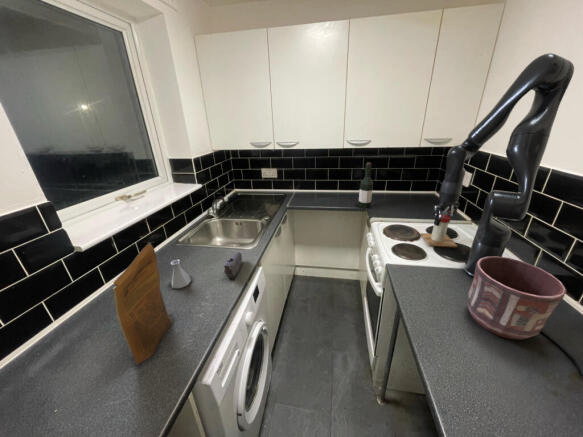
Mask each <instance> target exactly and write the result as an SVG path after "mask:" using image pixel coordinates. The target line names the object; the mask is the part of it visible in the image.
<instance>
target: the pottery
mask: <svg viewBox="0 0 583 437" xmlns="http://www.w3.org/2000/svg"><path fill="white" fill-rule="evenodd" d="M566 293H567V288H566V287H565V285H564V284H563V282H562V281H561V280H559V279H558V278H557V277H556V276H555V275H553V274H551V273H549V272H548V271H546V270H544V269H542V268H541V267H538V266H535V265H533V264H531V263H528V262H525V261H522V260H520V259H515V258H512V257H511V258H510V257H505V256H502V257H498V256H492V257H484V258H481V259H479V260H478V262H477V264H476V268H475V275H474V277H473V279H472V283H471V285H470V288H469V291H468V293H467V298H466V300H467V301H466V302H467V303H466V304H467V309H468V311H469V313H470V315H471V317H472V318H473V320H475V322H476V323H477V324H478V325H479V326H480V327H481V328H483V329H484V330H486V331H488V333H491V334H493V335H495V336H498V337H501V338H504V339H509V340H521V341H522V340H526V339H529V338H531V337H535V336H537V335H539V334H540V333H541V332H540V331H541V330H543V328H544V326H545V324H546V323H547V321H548V319H549V317H550V315H551V314H552V313H553V311H554V310H555V309H556V308H557V306H558V305H559V304H560V303H561V301H562V300H563V299H564V298H565V295H566Z"/></svg>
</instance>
